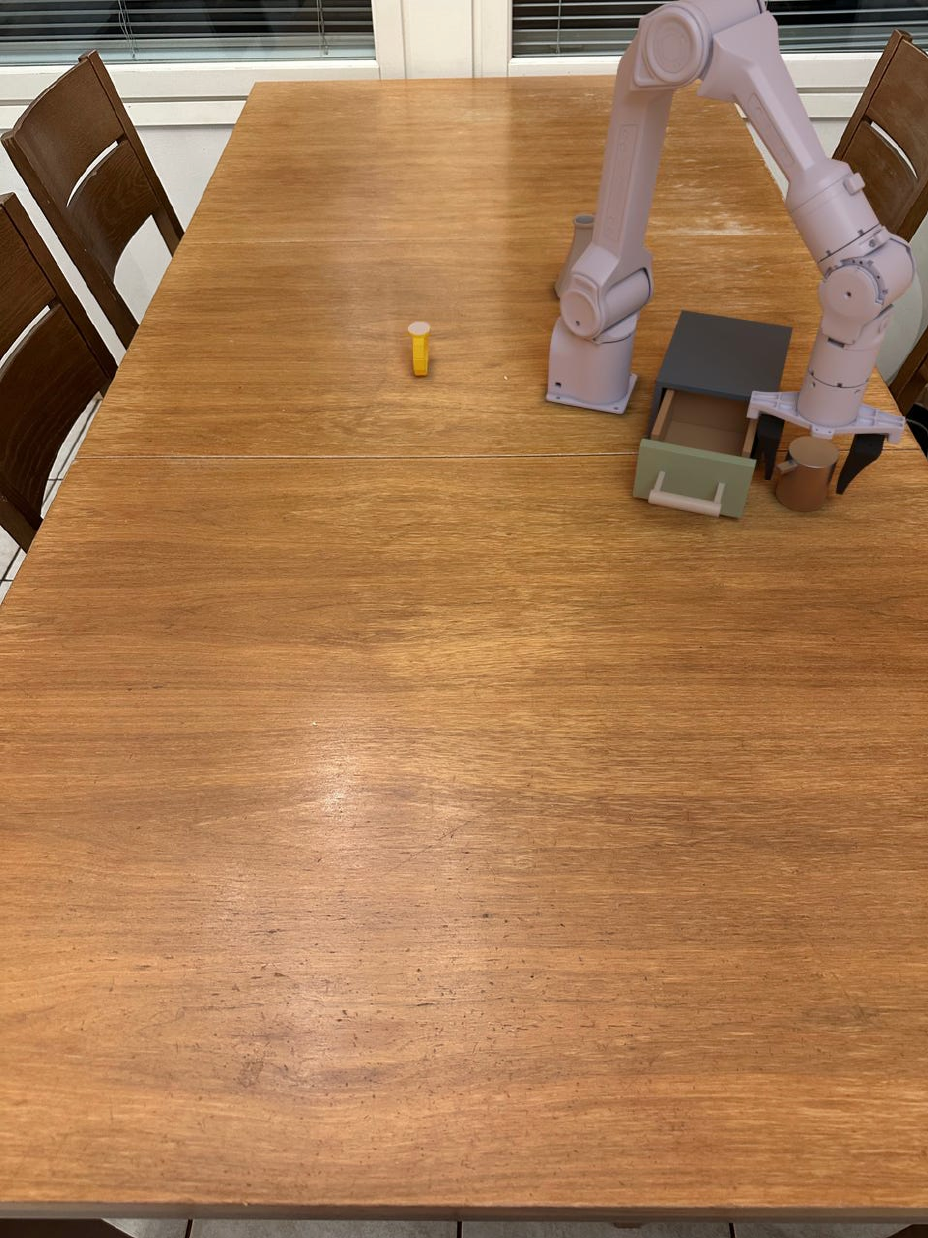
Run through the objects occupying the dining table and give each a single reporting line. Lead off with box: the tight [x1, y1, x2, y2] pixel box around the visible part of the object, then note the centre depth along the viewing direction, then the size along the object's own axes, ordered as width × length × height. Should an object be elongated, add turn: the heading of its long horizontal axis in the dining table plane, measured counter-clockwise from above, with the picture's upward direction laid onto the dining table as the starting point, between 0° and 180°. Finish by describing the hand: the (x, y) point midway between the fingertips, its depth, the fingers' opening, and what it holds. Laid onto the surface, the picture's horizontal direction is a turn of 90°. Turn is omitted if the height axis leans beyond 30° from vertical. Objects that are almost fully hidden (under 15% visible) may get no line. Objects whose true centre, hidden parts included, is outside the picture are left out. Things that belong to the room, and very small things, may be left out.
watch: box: [407, 321, 432, 377], centre depth 116 cm, size 6×3×6 cm, turn 178°
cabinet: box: [646, 309, 794, 467], centre depth 107 cm, size 15×13×9 cm
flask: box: [553, 212, 595, 298], centre depth 126 cm, size 7×7×10 cm
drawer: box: [632, 388, 759, 519], centre depth 99 cm, size 18×11×7 cm, turn 161°
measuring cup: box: [774, 435, 840, 513], centre depth 98 cm, size 7×5×6 cm
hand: (803, 481), depth 99 cm, fingers open, 7 cm apart
